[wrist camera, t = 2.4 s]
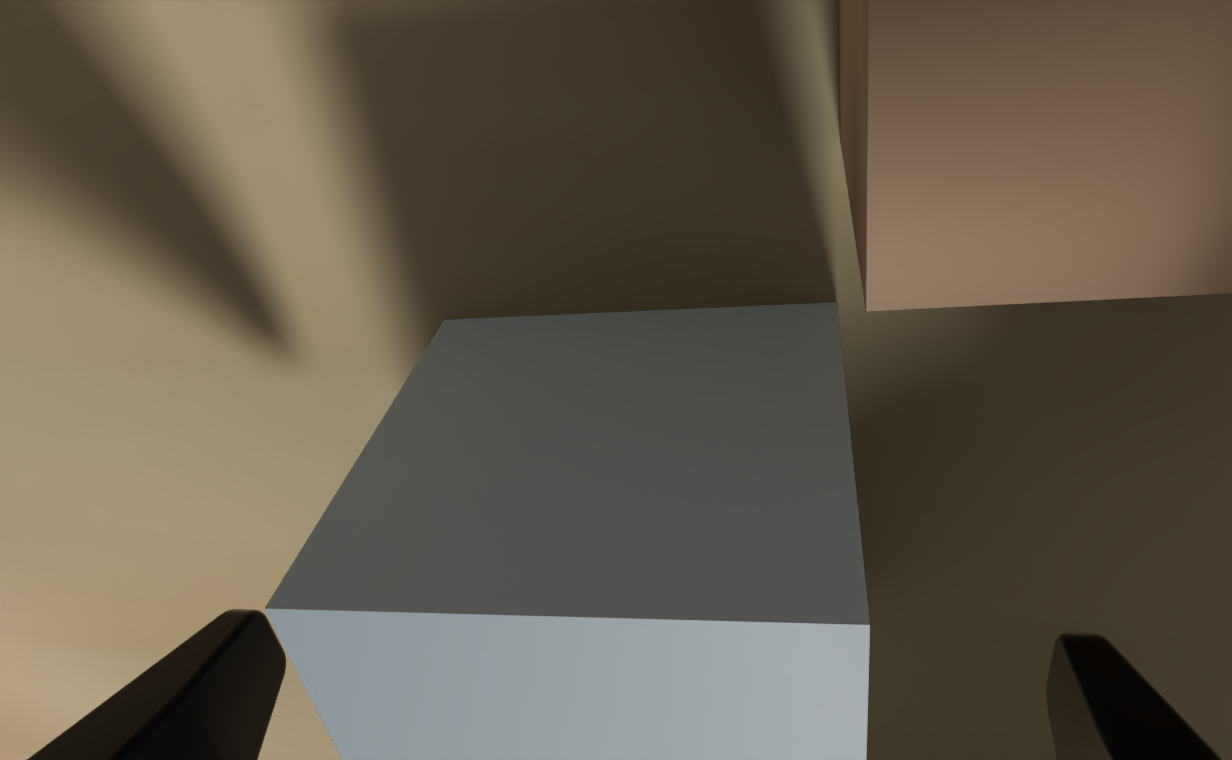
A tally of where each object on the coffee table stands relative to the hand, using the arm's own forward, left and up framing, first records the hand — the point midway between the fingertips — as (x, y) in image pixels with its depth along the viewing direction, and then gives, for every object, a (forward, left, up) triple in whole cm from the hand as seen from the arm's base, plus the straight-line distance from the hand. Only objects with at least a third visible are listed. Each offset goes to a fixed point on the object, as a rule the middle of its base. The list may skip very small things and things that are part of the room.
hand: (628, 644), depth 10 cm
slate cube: (0, 0, -3) cm, 3 cm away
